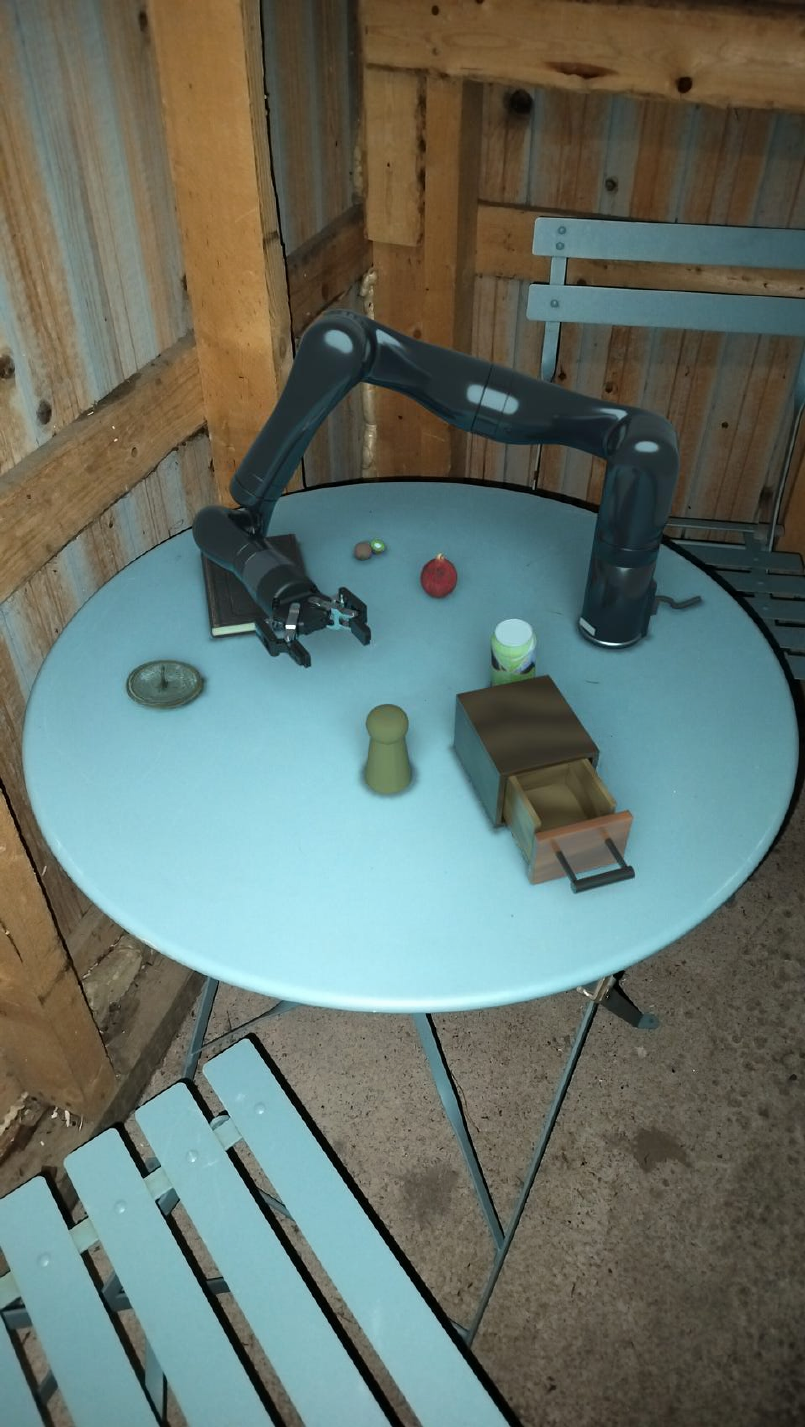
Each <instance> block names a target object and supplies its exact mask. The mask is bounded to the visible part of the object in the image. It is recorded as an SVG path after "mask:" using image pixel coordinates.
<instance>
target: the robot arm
mask: <svg viewBox="0 0 805 1427" xmlns="http://www.w3.org/2000/svg"><path fill="white" fill-rule="evenodd" d="M360 383H364V384H369V385H372V386H376V387H380V388H383V389H386V390H389V391H393V392H396V393H399V394H401V395H403V396H405V397H408V398H409V399H411V400H413V401H414V402H416V403H417V404H419V405H420V406H421V407H423V408H425V409H426V410H427V411H429V412H430V413H432V414H434V415H435V416H436V417H438V418H439V419H441V420H443V421H444V422H446V423H448V424H449V425H451V426H453V427H455V428H457V429H460V430H461V431H464V432H467V433H470V434H472V435H475V436H479V437H481V438H484V439H487V440H490V441H493V442H497V443H501V444H505V445H515V446H536V445H537V446H541V445H543V446H544V445H553V446H554V445H557V446H564V447H569V448H572V449H576V450H579V451H582V452H584V453H587V454H590V455H592V456H594V457H597V458H599V459H602V460H604V461H606V464H605V471H604V478H603V485H602V491H601V496H600V505H599V508H598V512H597V514H596V522H595V527H594V533H593V538H592V545H591V552H590V558H589V564H588V569H587V577H586V582H585V583H586V584H585V590H584V596H583V601H582V608H581V614H580V618H579V622H578V630H579V634H580V635H581V637H583V638H584V639H585V640H586V641H587V642H589V643H590V644H592V645H594V646H597V647H600V648H605V649H609V650H610V649H611V650H620V649H627V648H629V647H632V646H634V645H636V644H637V643H638V642H639V641H640V640H641V638H644V637H647V634H648V631H649V626H650V621H651V617H654V616H657V614H658V609H659V606H660V602H662V603H666V604H668V605H669V606H670V607H671V608H672V609H675V610H679V609H684V608H687V607H689V606H692V605H695V604H697V603H700V602H702V597H701V595H697V596H694V597H692V598H689V599H687V600H684V601H681V602H676V601H675V600H674V599H673V598H672V597H670V596H666V595H660V594H657V590H658V582H657V581H656V580H655V579H654V577H655V576H654V575H655V572H656V567H657V562H658V557H659V553H660V547H661V543H662V538H663V535H664V530H665V528H666V527H667V524H668V522H669V519H670V514H671V509H672V506H673V503H674V497H675V493H676V490H677V485H678V480H679V474H680V468H681V458H680V457H681V456H680V444H679V443H680V442H679V437H678V433H677V430H676V428H675V426H674V425H673V423H672V422H671V421H670V420H669V419H668V418H667V417H665V416H664V415H662V414H661V413H658V412H656V411H653V410H650V409H646V408H643V407H637V406H633V405H629V404H624V403H619V402H615V401H610V400H606V399H602V398H598V397H593V396H590V395H586V394H583V393H581V392H578V391H575V390H572V389H569V388H568V387H565V386H562V385H559V384H556V383H553V382H550V381H548V380H544V379H541V378H539V377H535V376H533V375H530V374H527V373H526V372H523V371H520V370H517V369H514V368H511V367H508V366H505V365H503V364H500V363H497V362H495V361H491V360H487V359H485V358H481V357H477V356H474V355H472V354H471V355H470V354H467V353H464V352H461V351H458V350H456V349H452V348H448V347H444V346H441V345H437V344H433V343H429V342H426V341H423V340H421V339H417V338H414V337H411V336H410V335H407V334H405V333H402V332H400V331H398V330H396V329H394V328H391V327H390V326H388V325H385V324H383V323H381V322H380V321H377V320H375V319H373V318H372V317H368V316H366V315H364V314H362V313H361V312H357V311H355V310H353V309H349V308H333V309H329V310H327V311H326V310H325V311H324V312H322V313H321V314H320V315H319V316H317V317H316V318H315V319H314V320H313V321H312V322H311V323H310V324H309V325H308V327H307V328H306V329H305V330H304V331H303V334H302V336H301V337H300V340H299V345H298V348H297V351H296V354H295V357H294V360H293V363H292V364H291V369H290V372H289V374H288V377H287V379H286V382H285V385H284V387H283V390H282V391H281V394H280V396H279V398H278V400H277V402H276V404H275V406H274V408H273V410H272V412H271V414H270V415H269V416H268V419H266V422H265V423H264V424H263V425H262V428H261V429H260V431H259V432H258V434H256V437H255V438H254V440H253V441H252V443H251V445H250V446H249V448H248V450H247V451H246V453H245V455H244V456H243V458H242V460H241V462H240V464H239V465H238V467H237V469H236V470H235V471H234V473H233V475H232V477H231V480H230V482H229V486H228V490H229V491H228V492H229V494H230V496H231V498H232V500H233V501H234V502H235V503H236V504H238V505H239V507H242V508H243V510H240V509H235V508H232V507H231V508H230V507H226V506H222V505H217V504H213V505H207V506H204V507H202V508H201V509H200V510H199V511H198V512H197V513H196V514H195V515H194V518H193V521H192V526H191V533H192V537H193V541H194V543H195V545H196V547H197V548H198V549H199V551H200V550H201V552H202V553H203V554H205V555H206V556H207V557H208V558H210V559H211V560H213V561H214V562H216V563H217V564H219V565H220V566H222V567H223V568H225V569H227V570H229V571H231V572H232V573H234V574H235V576H236V577H237V578H238V579H239V580H240V581H241V583H242V584H243V585H244V586H245V587H246V588H247V590H248V592H249V594H250V595H251V597H252V598H253V600H254V601H255V602H256V603H257V604H258V605H259V606H260V607H261V608H262V609H263V610H264V612H265V613H266V614H267V615H268V616H269V617H270V618H268V619H265V620H264V618H263V617H261V616H257V617H255V618H254V624H255V633H254V634H255V636H256V637H257V639H258V640H259V641H260V643H261V644H262V645H263V647H264V648H265V650H266V651H267V652H268V654H269V655H270V657H271V658H272V657H273V658H277V657H279V656H280V654H286V655H288V656H289V657H290V658H291V659H292V660H293V661H294V662H295V664H296V665H297V666H300V667H302V666H303V668H304V669H309V668H311V667H312V658H311V656H312V655H311V653H310V652H309V651H308V650H307V648H305V646H304V645H303V644H302V643H301V642H300V636H301V635H304V636H308V635H311V634H313V633H315V632H319V631H322V630H325V629H331V630H334V631H339V630H340V629H343V630H347V631H350V633H351V634H352V635H353V636H354V637H355V639H357V641H359V643H360V644H362V646H364V647H366V646H369V645H370V644H371V640H372V631H371V627H369V625H368V624H367V623H368V605H367V604H366V603H365V602H363V601H362V600H361V599H360V598H359V597H358V596H357V595H356V594H354V593H353V591H351V590H349V589H348V588H347V587H345V586H341V587H339V588H338V589H337V593H335V594H334V595H331V596H329V595H327V594H324V593H322V592H321V591H320V589H319V588H318V586H317V584H316V583H315V582H314V581H313V580H312V579H311V578H310V577H309V576H308V575H307V573H306V572H305V573H306V574H305V573H304V572H303V571H302V570H301V569H300V568H299V567H298V566H297V565H296V564H295V563H294V562H293V561H292V560H291V559H289V558H288V557H287V556H285V555H284V554H282V552H281V551H280V550H279V549H278V548H277V547H276V546H275V545H274V544H273V543H272V542H271V541H269V540H268V539H267V538H266V537H268V531H269V527H270V523H271V521H272V518H273V513H274V510H275V506H276V504H277V502H278V501H279V499H280V498H281V496H282V494H283V493H284V491H285V489H286V488H287V486H288V485H289V483H290V481H291V480H292V478H293V476H294V475H295V473H296V471H297V469H298V467H299V465H300V463H301V461H302V460H303V458H304V455H305V453H306V451H307V449H308V447H309V445H310V443H311V441H312V439H313V438H314V436H315V434H316V433H317V432H318V430H319V428H320V427H321V426H322V424H323V423H324V421H325V420H326V418H328V416H329V415H330V414H331V412H333V410H334V409H335V408H336V406H338V404H340V403H341V401H342V400H343V399H344V398H345V397H346V396H347V395H348V394H349V392H350V391H352V389H354V388H355V387H357V385H359V384H360ZM201 552H200V553H201ZM332 614H333V619H331V618H332ZM344 618H347V619H348V620H345V619H344ZM274 627H276V628H277V629H279V630H280V631H284V634H283V637H280V638H278V636H277V635H276V633H275V632H274V630H273V628H274Z"/></svg>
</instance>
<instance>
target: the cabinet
mask: <svg viewBox="0 0 805 1427" xmlns="http://www.w3.org/2000/svg"><path fill="white" fill-rule="evenodd" d="M454 715H455V716H454V730H453V731H454V734H453V735H454V736H453V750H454V752H455V754H456V756H457V758H458V760H459V762H460V764H461V767H462V768H463V770H464V772H465V774H466V776H467V778H468V780H469V782H470V783H471V786H472V788H473V789H474V791H475V794H476V795H477V798H478V799H479V801H480V803H481V806H482V807H483V809H484V812H485V813H486V815H487V817H488V819H489V821H490V823H491V825H492V827H493V829H494V830H497V829H501V828H504V827H509V826H508V824H507V822H506V821H505V819H504V817H503V815H502V808H503V799H504V790H505V780H506V777H510V776H514V775H519V774H523V773H527V772H531V771H535V770H540V769H544V768H548V767H552V766H557V765H561V764H565V763H569V762H573V761H578V760H582V759H586V758H588V760H589V761H590V763H591V765H592V766H593V768H594V769H595V771H596V772H597V767H598V762H599V758H600V752H601V750H600V749H599V747H598V746H597V744H596V743H595V741H594V740H593V738H592V737H591V735H590V734H589V732H588V731H587V729H586V728H585V727H584V725H583V724H582V722H581V721H580V719H579V718H578V716H577V715H576V713H575V712H574V710H573V708H572V707H571V706H570V703H569V702H568V701H567V700H566V698H565V697H564V695H563V694H562V692H561V691H560V689H559V688H558V686H557V685H556V683H555V681H554V680H553V679H552V677H551V676H550V675H549V674H545V675H540V676H536V677H534V678H530V679H525V680H520V681H516V682H511V683H506V684H501V685H497V686H492V685H491V686H488V687H482V688H478V689H473V690H469V691H464V692H460V693H456V696H455V714H454Z"/></svg>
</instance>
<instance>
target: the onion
mask: <svg viewBox="0 0 805 1427" xmlns="http://www.w3.org/2000/svg"><path fill="white" fill-rule="evenodd" d="M458 578H459V577H458V572H457V569H456V566H455V565H454V563H453V562H452V561H450V560H449V559H447V558H445V554H444V553H442V552H439V553H437V554H436V557H435V558H432V559H430V560H429V561H427V562H426V563H425V564H424V566H423V567H422V569H421V572H420V579H419V580H420V585H421V588H422V589H423V591H424V592H425V593H426V594H427V595H428V596H430V597H433V598H434V599H442V598H445V597H447V596H448V595H450V594H451V593H453V591H454V590H455V589H456V587H457V584H458V580H459V579H458Z"/></svg>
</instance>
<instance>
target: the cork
mask: <svg viewBox="0 0 805 1427" xmlns="http://www.w3.org/2000/svg"><path fill="white" fill-rule="evenodd" d="M409 726H410V721H409V718H408V715H407V712H405V711H404V710H403V709H402V708H401V707H400V706H398V705H395V704H392V703H384V704H379V705H377V706H375V707H373V708H372V709H371V710H370V711H369V713H368V714H367V716H366V720H365V729H366V731H367V734H368V736H369V737H370V738H369V743H368V744H369V745H368V751H367V757H366V765H365V772H364V780H365V781H364V782H365V784H366V785H367V786H368V788H369V789H371V790H372V791H374V792H375V793H379V794H382V795H392V794H397V793H400V792H402V791H404V790H406V789H407V787H408V786H409V785H410V783H412V782H411V781H412V777H413V776H412V769H411V764H410V758H409V752H408V747H407V742H406V735H407V734H408V731H409Z"/></svg>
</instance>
